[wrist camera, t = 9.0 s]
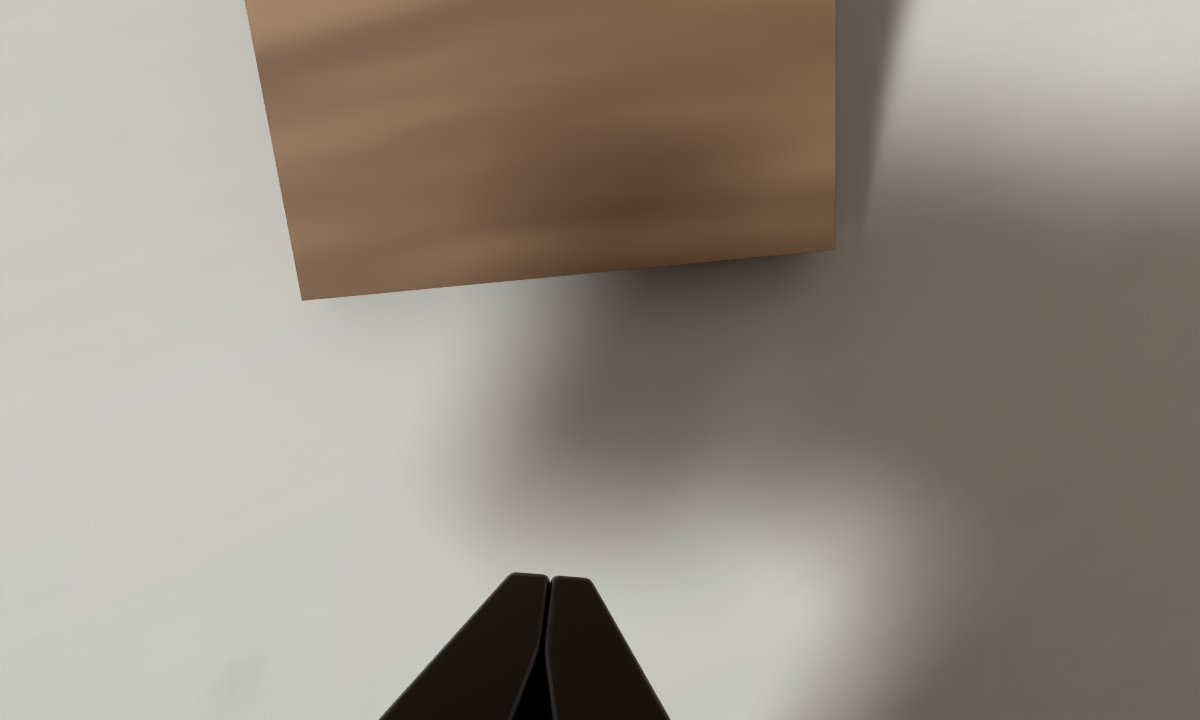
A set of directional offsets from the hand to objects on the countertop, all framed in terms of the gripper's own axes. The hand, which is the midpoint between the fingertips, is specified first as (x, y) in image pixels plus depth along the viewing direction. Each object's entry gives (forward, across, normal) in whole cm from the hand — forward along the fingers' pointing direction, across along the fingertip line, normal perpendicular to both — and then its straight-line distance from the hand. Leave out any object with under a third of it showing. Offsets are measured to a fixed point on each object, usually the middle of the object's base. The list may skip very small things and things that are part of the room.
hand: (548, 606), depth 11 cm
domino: (+10, 0, -1) cm, 10 cm away
